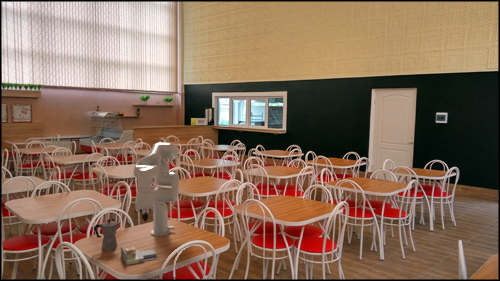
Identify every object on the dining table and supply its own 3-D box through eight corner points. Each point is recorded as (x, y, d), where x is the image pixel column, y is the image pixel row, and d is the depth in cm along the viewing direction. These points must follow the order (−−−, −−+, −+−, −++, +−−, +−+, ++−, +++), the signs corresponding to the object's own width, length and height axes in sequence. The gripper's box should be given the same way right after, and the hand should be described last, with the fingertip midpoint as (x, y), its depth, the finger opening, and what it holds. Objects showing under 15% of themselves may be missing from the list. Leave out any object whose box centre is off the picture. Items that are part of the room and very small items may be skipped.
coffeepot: (119, 243, 235) (119, 215, 233) (122, 248, 227) (121, 219, 225) (93, 247, 227) (92, 218, 226) (95, 252, 219) (94, 223, 218)
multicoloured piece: (152, 250, 224) (151, 240, 224) (158, 258, 212) (158, 248, 212) (121, 255, 216) (120, 245, 215) (125, 264, 203) (125, 254, 203)
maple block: (134, 253, 214) (134, 247, 214) (135, 256, 210) (135, 249, 210) (125, 255, 212) (125, 248, 211) (126, 257, 208) (126, 250, 208)
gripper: (155, 186, 223) (156, 216, 225) (130, 189, 216) (130, 220, 218) (159, 189, 217) (159, 220, 219) (133, 192, 209) (133, 223, 212)
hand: (145, 219), depth 219 cm, fingers closed
